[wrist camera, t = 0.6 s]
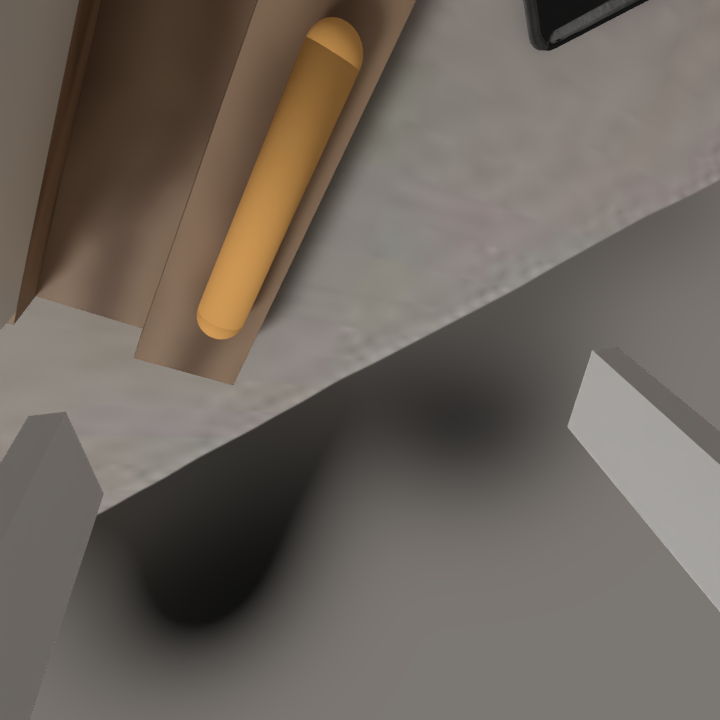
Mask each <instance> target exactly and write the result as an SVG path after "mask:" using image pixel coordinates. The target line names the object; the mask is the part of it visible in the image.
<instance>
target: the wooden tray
mask: <svg viewBox="0 0 720 720" xmlns="http://www.w3.org/2000/svg"><path fill="white" fill-rule="evenodd" d="M415 2H416V0H79V3H78V8H77V13H76V18H75V23H74V27H73V32H72V37H71V42H70V47H69V52H68V57H67V62H66V67H65V72H64V77H63V82H62V87H61V92H60V96H59V101H58V106H57V111H56V116H55V121H54V126H53V131H52V136H51V141H50V146H49V151H48V156H47V160H46V165H45V170H44V175H43V180H42V185H41V190H40V195H39V200H38V205H37V210H36V215H35V220H34V224H33V229H32V234H31V239H30V244H29V249H28V254H27V259H26V264H25V269H24V274H23V279H22V284H21V289H20V293H19V298H18V303H17V308H16V313H15V314H14V315H13V316H12V317H11V318H10V319H9V320H8V322H7V323H8V324H12V325H14V324H15V322H16V321H17V320H18V318H19V317H20V316H21V315H22V313H23V312H24V311H25V309H26V308H27V307H28V305H29V304H30V303H31V301H32V300H33V299H34V297H35V296H37V297H41V298H44V299H47V300H51V301H54V302H57V303H61V304H64V305H67V306H70V307H74V308H77V309H80V310H84V311H87V312H90V313H94V314H97V315H100V316H104V317H107V318H110V319H113V320H117V321H120V322H123V323H127V324H130V325H133V326H137V327H140V328H143V330H142V333H141V336H140V339H139V343H138V346H137V349H136V352H135V355H134V358H136V359H139V360H143V361H147V362H150V363H154V364H158V365H161V366H165V367H169V368H172V369H176V370H180V371H183V372H187V373H190V374H194V375H198V376H201V377H205V378H209V379H212V380H216V381H220V382H223V383H227V384H231V385H234V383H235V381H236V378H237V376H238V374H239V372H240V370H241V368H242V366H243V364H244V362H245V360H246V357H247V355H248V353H249V351H250V349H251V347H252V345H253V343H254V341H255V339H256V336H257V334H258V332H259V330H260V328H261V326H262V324H263V322H264V320H265V318H266V315H267V313H268V311H269V309H270V307H271V305H272V303H273V301H274V299H275V296H276V294H277V292H278V290H279V288H280V286H281V284H282V282H283V280H284V278H285V275H286V273H287V271H288V269H289V267H290V265H291V263H292V261H293V259H294V257H295V254H296V252H297V250H298V248H299V246H300V244H301V242H302V240H303V238H304V236H305V233H306V231H307V229H308V227H309V225H310V223H311V221H312V219H313V217H314V214H315V212H316V210H317V208H318V206H319V204H320V202H321V200H322V198H323V196H324V193H325V191H326V189H327V187H328V185H329V183H330V181H331V179H332V177H333V175H334V172H335V170H336V168H337V166H338V164H339V162H340V160H341V158H342V156H343V154H344V151H345V149H346V147H347V145H348V143H349V141H350V139H351V137H352V135H353V132H354V130H355V128H356V126H357V124H358V122H359V120H360V118H361V116H362V114H363V111H364V109H365V107H366V105H367V103H368V101H369V99H370V97H371V95H372V93H373V90H374V88H375V86H376V84H377V82H378V80H379V78H380V76H381V74H382V72H383V69H384V67H385V65H386V63H387V61H388V59H389V57H390V55H391V53H392V51H393V48H394V46H395V44H396V42H397V40H398V38H399V36H400V34H401V32H402V29H403V27H404V25H405V23H406V21H407V19H408V17H409V15H410V13H411V11H412V8H413V6H414V4H415ZM328 17H337V18H340V19H343V20H345V21H347V22H348V23H349V24H351V25H352V26H353V28H354V29H355V30H356V31H357V33H358V35H359V37H360V40H361V43H362V47H363V61H362V66H361V69H360V71H359V73H358V76H357V78H356V80H355V82H354V84H353V87H352V89H351V91H350V93H349V95H348V98H347V100H346V102H345V104H344V106H343V108H342V111H341V113H340V115H339V117H338V119H337V122H336V124H335V126H334V128H333V130H332V133H331V135H330V137H329V139H328V141H327V144H326V146H325V148H324V150H323V152H322V155H321V157H320V159H319V161H318V163H317V166H316V168H315V170H314V172H313V174H312V177H311V179H310V181H309V183H308V185H307V187H306V190H305V192H304V194H303V196H302V198H301V201H300V203H299V205H298V207H297V209H296V212H295V214H294V216H293V218H292V220H291V223H290V225H289V227H288V229H287V231H286V234H285V236H284V238H283V240H282V242H281V245H280V247H279V249H278V251H277V253H276V255H275V258H274V260H273V262H272V264H271V266H270V269H269V271H268V273H267V275H266V277H265V280H264V282H263V284H262V286H261V288H260V291H259V293H258V295H257V297H256V299H255V302H254V304H253V306H252V308H251V310H250V313H249V315H248V317H247V319H246V321H245V324H244V326H243V327H242V329H241V331H240V332H239V333H238V334H236V335H235V336H233V337H231V338H228V339H215V338H212V337H210V336H208V335H206V334H205V333H204V332H203V331H202V330H201V328H200V326H199V324H198V322H197V310H198V306H199V304H200V301H201V299H202V296H203V294H204V291H205V289H206V286H207V284H208V281H209V279H210V276H211V274H212V271H213V268H214V266H215V263H216V261H217V258H218V256H219V253H220V251H221V248H222V246H223V243H224V241H225V238H226V236H227V233H228V231H229V228H230V226H231V223H232V221H233V218H234V216H235V213H236V211H237V208H238V206H239V203H240V201H241V198H242V196H243V193H244V191H245V188H246V186H247V183H248V181H249V178H250V176H251V173H252V170H253V168H254V165H255V163H256V160H257V158H258V155H259V153H260V150H261V148H262V145H263V143H264V140H265V138H266V135H267V133H268V130H269V128H270V125H271V123H272V120H273V118H274V115H275V113H276V110H277V108H278V105H279V103H280V100H281V98H282V95H283V93H284V90H285V88H286V85H287V83H288V80H289V78H290V75H291V72H292V70H293V67H294V65H295V62H296V60H297V57H298V55H299V52H300V50H301V47H302V45H303V42H304V40H305V37H306V36H307V34H308V32H309V30H310V29H311V27H312V26H313V25H314V24H315V23H317V22H318V21H320V20H322V19H324V18H328Z"/></svg>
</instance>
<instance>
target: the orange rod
mask: <svg viewBox="0 0 720 720" xmlns="http://www.w3.org/2000/svg"><path fill="white" fill-rule="evenodd" d="M362 61H363V47H362V43H361V40H360V37H359V35H358V33H357V31H356V30H355V29H354V28H353V26H352V25H351V24H349V23H348V22H347V21H345V20H343V19H340V18H337V17H328V18H324V19H322V20H320V21H318V22H317V23H315V24H314V25H313V26H312V27H311V29H310V30H309V32H308V34H307V36H306V37H305V40H304V42H303V45H302V47H301V50H300V52H299V55H298V57H297V60H296V62H295V65H294V67H293V70H292V72H291V75H290V78H289V80H288V83H287V85H286V88H285V90H284V93H283V95H282V98H281V100H280V103H279V105H278V108H277V110H276V113H275V115H274V118H273V120H272V123H271V125H270V128H269V130H268V133H267V135H266V138H265V140H264V143H263V145H262V148H261V150H260V153H259V155H258V158H257V160H256V163H255V165H254V168H253V170H252V173H251V176H250V178H249V181H248V183H247V186H246V188H245V191H244V193H243V196H242V198H241V201H240V203H239V206H238V208H237V211H236V213H235V216H234V218H233V221H232V223H231V226H230V228H229V231H228V233H227V236H226V238H225V241H224V243H223V246H222V248H221V251H220V253H219V256H218V258H217V261H216V263H215V266H214V268H213V271H212V274H211V276H210V279H209V281H208V284H207V286H206V289H205V291H204V294H203V296H202V299H201V301H200V304H199V306H198V310H197V322H198V324H199V326H200V328H201V330H202V331H203V332H204V333H205V334H206V335H208V336H210V337H212V338H215V339H228V338H231V337H233V336H235V335H236V334H238V333H239V332H240V331H241V329H242V327H243V326H244V324H245V321H246V319H247V317H248V315H249V313H250V310H251V308H252V306H253V304H254V302H255V299H256V297H257V295H258V293H259V291H260V288H261V286H262V284H263V282H264V280H265V277H266V275H267V273H268V271H269V269H270V266H271V264H272V262H273V260H274V258H275V255H276V253H277V251H278V249H279V247H280V245H281V242H282V240H283V238H284V236H285V234H286V231H287V229H288V227H289V225H290V223H291V220H292V218H293V216H294V214H295V212H296V209H297V207H298V205H299V203H300V201H301V198H302V196H303V194H304V192H305V190H306V187H307V185H308V183H309V181H310V179H311V177H312V174H313V172H314V170H315V168H316V166H317V163H318V161H319V159H320V157H321V155H322V152H323V150H324V148H325V146H326V144H327V141H328V139H329V137H330V135H331V133H332V130H333V128H334V126H335V124H336V122H337V119H338V117H339V115H340V113H341V111H342V108H343V106H344V104H345V102H346V100H347V98H348V95H349V93H350V91H351V89H352V87H353V84H354V82H355V80H356V78H357V76H358V73H359V71H360V69H361V66H362Z"/></svg>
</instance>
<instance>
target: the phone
mask: <svg viewBox="0 0 720 720" xmlns="http://www.w3.org/2000/svg"><path fill="white" fill-rule="evenodd" d="M646 1H648V0H523V2H524V8H525V15H526V21H527V28H528V34H529V39H530V43H531V44H532V46H533V47H534V48H536V49H537V50H547V51H549V50H552V49H555V48H557V47H559V46H561V45H563V44H565V43H567V42H568V41H570V40H572V39H574V38H576V37H578V36H580V35H582V34H584V33H586V32H588V31H590V30H592V29H594V28H596V27H597V26H599V25H601V24H603V23H605V22H607V21H609V20H611V19H613V18H615V17H617V16H619V15H621V14H623V13H624V12H626V11H628V10H630V9H632V8H634V7H636V6H638V5H640V4H642V3H644V2H646Z"/></svg>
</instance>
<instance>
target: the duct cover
mask: <svg viewBox="0 0 720 720" xmlns="http://www.w3.org/2000/svg"><path fill="white" fill-rule="evenodd" d="M78 3H79V0H0V329H1V328H2V327H3V326H4V325H5V324H6V323H7V322H8V320H9V319H10V318H11V317H12V316H13V315H14V314H15V313H16V308H17V303H18V298H19V293H20V289H21V284H22V279H23V274H24V269H25V264H26V259H27V254H28V249H29V244H30V239H31V234H32V229H33V224H34V220H35V215H36V210H37V205H38V200H39V195H40V190H41V185H42V180H43V175H44V170H45V165H46V160H47V156H48V151H49V146H50V141H51V136H52V131H53V126H54V121H55V116H56V111H57V106H58V101H59V96H60V92H61V87H62V82H63V77H64V72H65V67H66V62H67V57H68V52H69V47H70V42H71V37H72V32H73V27H74V23H75V18H76V13H77V8H78Z"/></svg>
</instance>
